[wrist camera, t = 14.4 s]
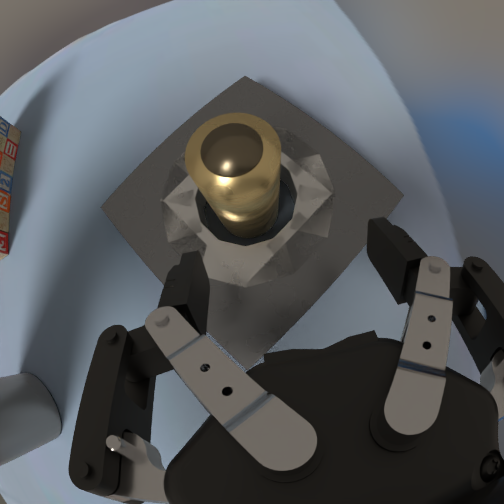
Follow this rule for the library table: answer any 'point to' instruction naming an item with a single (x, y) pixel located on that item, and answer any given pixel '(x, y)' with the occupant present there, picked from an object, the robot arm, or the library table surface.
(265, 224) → the brass sleeve
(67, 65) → the library table surface
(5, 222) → the stack of blocks
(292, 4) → the library table surface
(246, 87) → the plate
